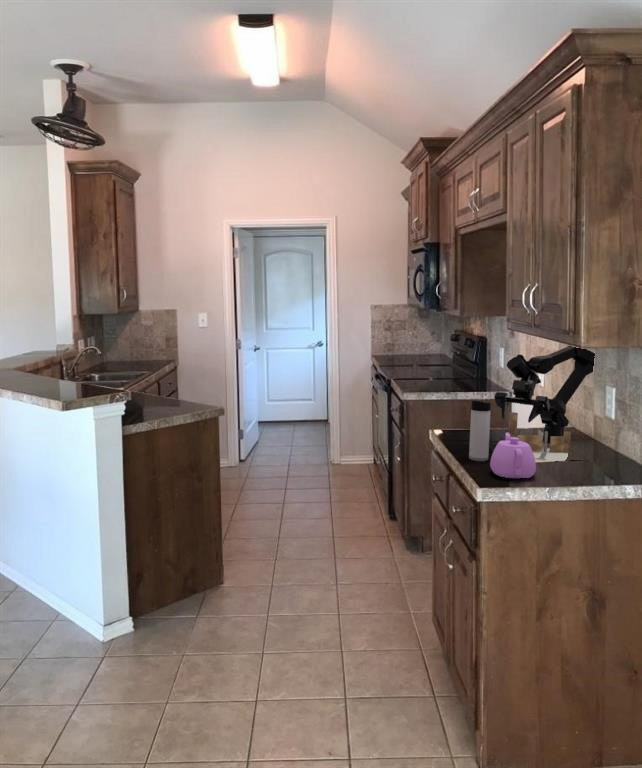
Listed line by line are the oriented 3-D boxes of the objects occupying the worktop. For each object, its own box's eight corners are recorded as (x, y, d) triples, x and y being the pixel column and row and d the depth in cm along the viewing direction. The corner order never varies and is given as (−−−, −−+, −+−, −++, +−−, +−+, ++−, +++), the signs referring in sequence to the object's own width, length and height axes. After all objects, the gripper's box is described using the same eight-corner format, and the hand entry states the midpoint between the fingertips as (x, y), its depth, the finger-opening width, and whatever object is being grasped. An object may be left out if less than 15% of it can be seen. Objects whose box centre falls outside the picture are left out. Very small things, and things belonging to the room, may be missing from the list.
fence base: (566, 451, 253) (567, 430, 252) (570, 453, 250) (572, 432, 250) (543, 452, 251) (544, 431, 250) (547, 454, 248) (549, 433, 247)
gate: (540, 450, 252) (542, 412, 250) (543, 451, 249) (545, 413, 247) (506, 450, 251) (508, 412, 249) (509, 451, 248) (511, 413, 247)
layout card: (556, 448, 258) (556, 447, 258) (586, 460, 241) (586, 459, 241) (503, 450, 253) (503, 450, 253) (530, 462, 236) (530, 462, 236)
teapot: (542, 484, 210) (544, 444, 208) (495, 482, 210) (497, 443, 209) (525, 467, 230) (527, 431, 228) (483, 466, 230) (485, 430, 229)
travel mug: (464, 459, 239) (467, 399, 236) (475, 456, 244) (477, 397, 241) (481, 462, 235) (484, 402, 232) (491, 459, 239) (494, 400, 237)
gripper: (497, 369, 259) (485, 403, 251) (549, 373, 249) (538, 409, 241) (503, 389, 267) (491, 422, 259) (554, 393, 257) (543, 428, 249)
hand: (515, 420), depth 252 cm, fingers open, 9 cm apart
